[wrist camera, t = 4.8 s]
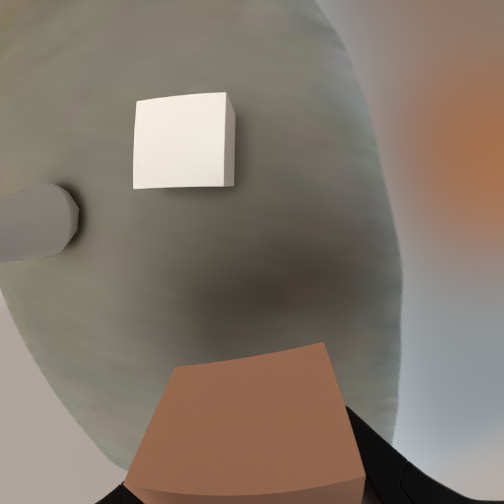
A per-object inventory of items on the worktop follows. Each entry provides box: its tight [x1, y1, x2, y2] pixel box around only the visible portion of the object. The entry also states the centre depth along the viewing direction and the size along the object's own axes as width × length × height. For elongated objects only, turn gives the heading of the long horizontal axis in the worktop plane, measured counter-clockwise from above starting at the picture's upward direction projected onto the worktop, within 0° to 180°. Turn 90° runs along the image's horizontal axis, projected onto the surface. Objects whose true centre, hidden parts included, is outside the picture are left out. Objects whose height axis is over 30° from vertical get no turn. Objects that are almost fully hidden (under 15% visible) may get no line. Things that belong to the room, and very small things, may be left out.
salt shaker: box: [0, 183, 79, 263], centre depth 13 cm, size 6×6×13 cm
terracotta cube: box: [123, 342, 366, 504], centre depth 7 cm, size 5×5×5 cm
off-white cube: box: [133, 93, 236, 189], centre depth 16 cm, size 5×5×5 cm
